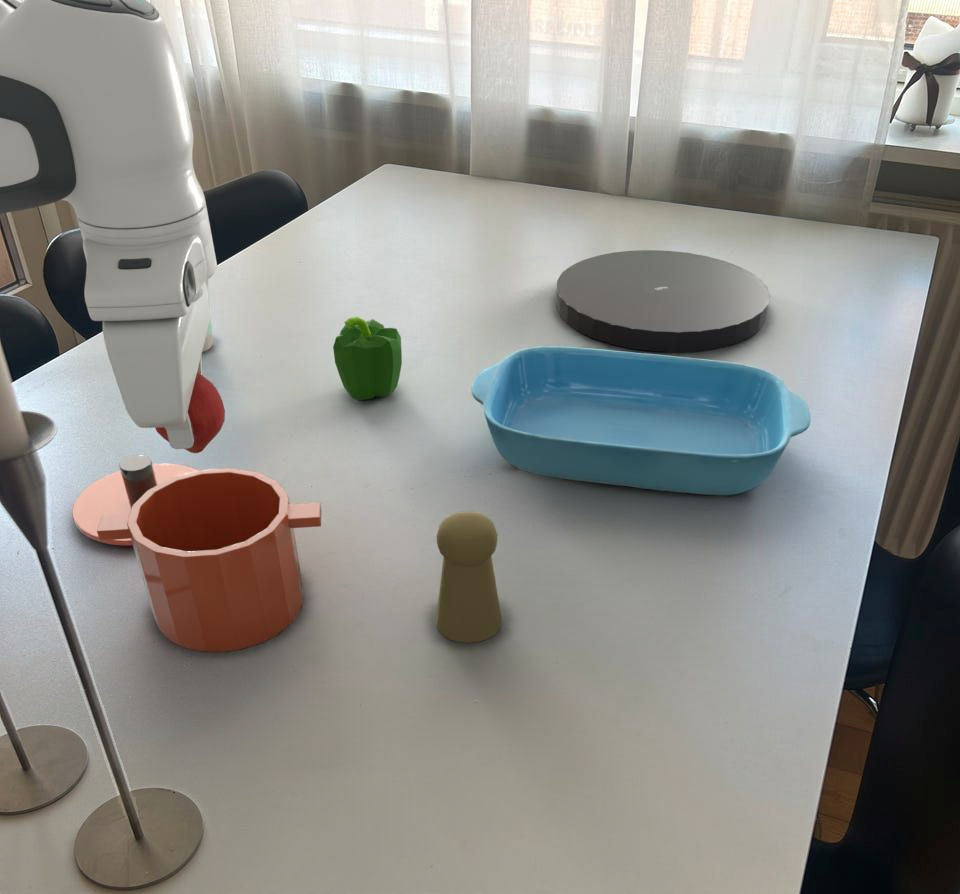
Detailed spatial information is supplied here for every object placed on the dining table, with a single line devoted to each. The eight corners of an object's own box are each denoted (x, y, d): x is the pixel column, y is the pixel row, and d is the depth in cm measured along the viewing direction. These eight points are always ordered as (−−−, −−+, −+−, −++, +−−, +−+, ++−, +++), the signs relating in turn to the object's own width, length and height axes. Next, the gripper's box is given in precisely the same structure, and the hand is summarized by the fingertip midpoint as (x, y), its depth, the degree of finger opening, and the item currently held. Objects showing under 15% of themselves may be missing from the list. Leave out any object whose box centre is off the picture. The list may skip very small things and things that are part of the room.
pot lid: (211, 545, 100) (200, 497, 97) (61, 555, 99) (44, 507, 96) (224, 468, 111) (215, 423, 108) (89, 476, 110) (75, 430, 107)
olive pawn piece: (514, 614, 92) (516, 515, 85) (478, 651, 88) (476, 550, 81) (460, 592, 94) (457, 493, 87) (422, 627, 91) (416, 527, 83)
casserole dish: (794, 417, 119) (807, 361, 115) (802, 522, 103) (817, 461, 98) (491, 391, 125) (492, 336, 120) (453, 486, 108) (452, 427, 104)
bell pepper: (394, 372, 129) (389, 296, 122) (411, 400, 123) (407, 322, 117) (330, 382, 127) (322, 305, 121) (345, 411, 121) (337, 333, 115)
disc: (659, 254, 160) (661, 234, 158) (810, 314, 142) (814, 293, 140) (513, 300, 146) (513, 280, 144) (660, 374, 128) (663, 352, 126)
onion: (147, 450, 83) (124, 359, 78) (208, 426, 86) (189, 338, 81) (182, 477, 80) (161, 385, 74) (244, 452, 83) (228, 361, 77)
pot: (331, 644, 89) (317, 548, 82) (113, 659, 88) (81, 563, 81) (332, 554, 99) (320, 462, 92) (137, 567, 98) (110, 474, 91)
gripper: (129, 204, 79) (166, 366, 88) (78, 308, 64) (129, 491, 73) (210, 201, 80) (238, 362, 89) (178, 303, 65) (216, 486, 74)
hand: (189, 422), depth 81 cm, fingers closed on onion, 6 cm apart
